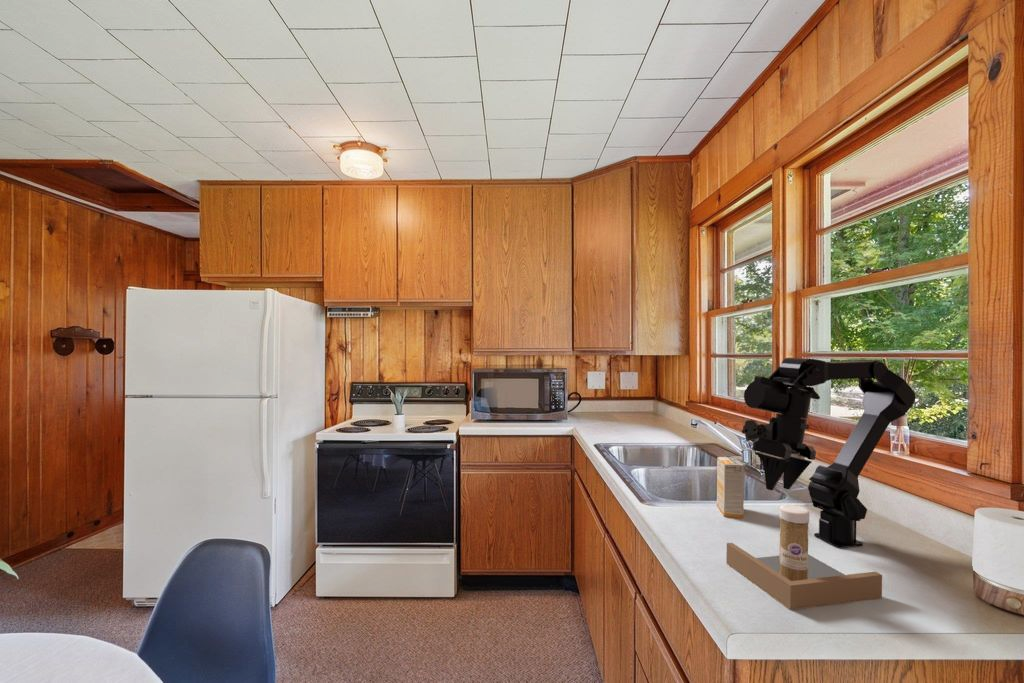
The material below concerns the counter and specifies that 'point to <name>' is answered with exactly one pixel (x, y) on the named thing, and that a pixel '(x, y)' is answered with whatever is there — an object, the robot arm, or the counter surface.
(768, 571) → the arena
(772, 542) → the counter surface
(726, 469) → the supplement box
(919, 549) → the counter surface
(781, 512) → the sprinkles bottle
